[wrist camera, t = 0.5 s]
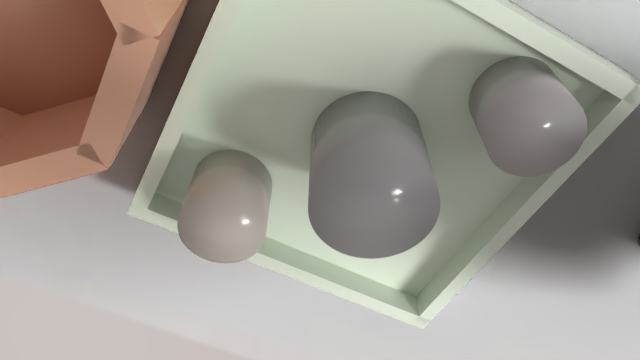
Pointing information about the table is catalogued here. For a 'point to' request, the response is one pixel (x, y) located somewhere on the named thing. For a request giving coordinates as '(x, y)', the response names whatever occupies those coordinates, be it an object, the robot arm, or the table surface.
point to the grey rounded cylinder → (370, 177)
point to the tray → (380, 76)
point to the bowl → (75, 83)
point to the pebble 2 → (526, 117)
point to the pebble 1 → (226, 207)
